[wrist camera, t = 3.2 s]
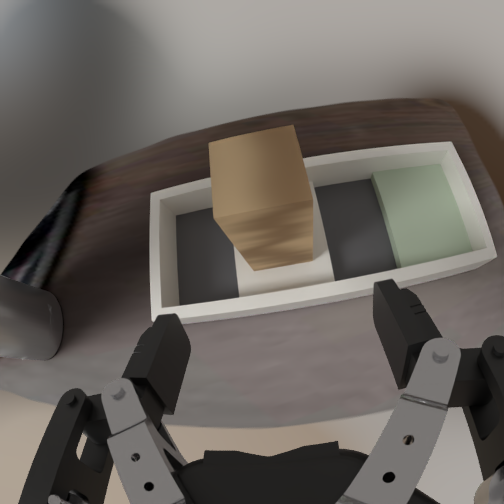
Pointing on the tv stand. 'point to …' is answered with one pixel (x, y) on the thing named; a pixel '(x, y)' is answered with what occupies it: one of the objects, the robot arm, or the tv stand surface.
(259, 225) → the oak post
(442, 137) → the tv stand surface
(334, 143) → the tv stand surface
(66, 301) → the tv stand surface
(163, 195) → the box
